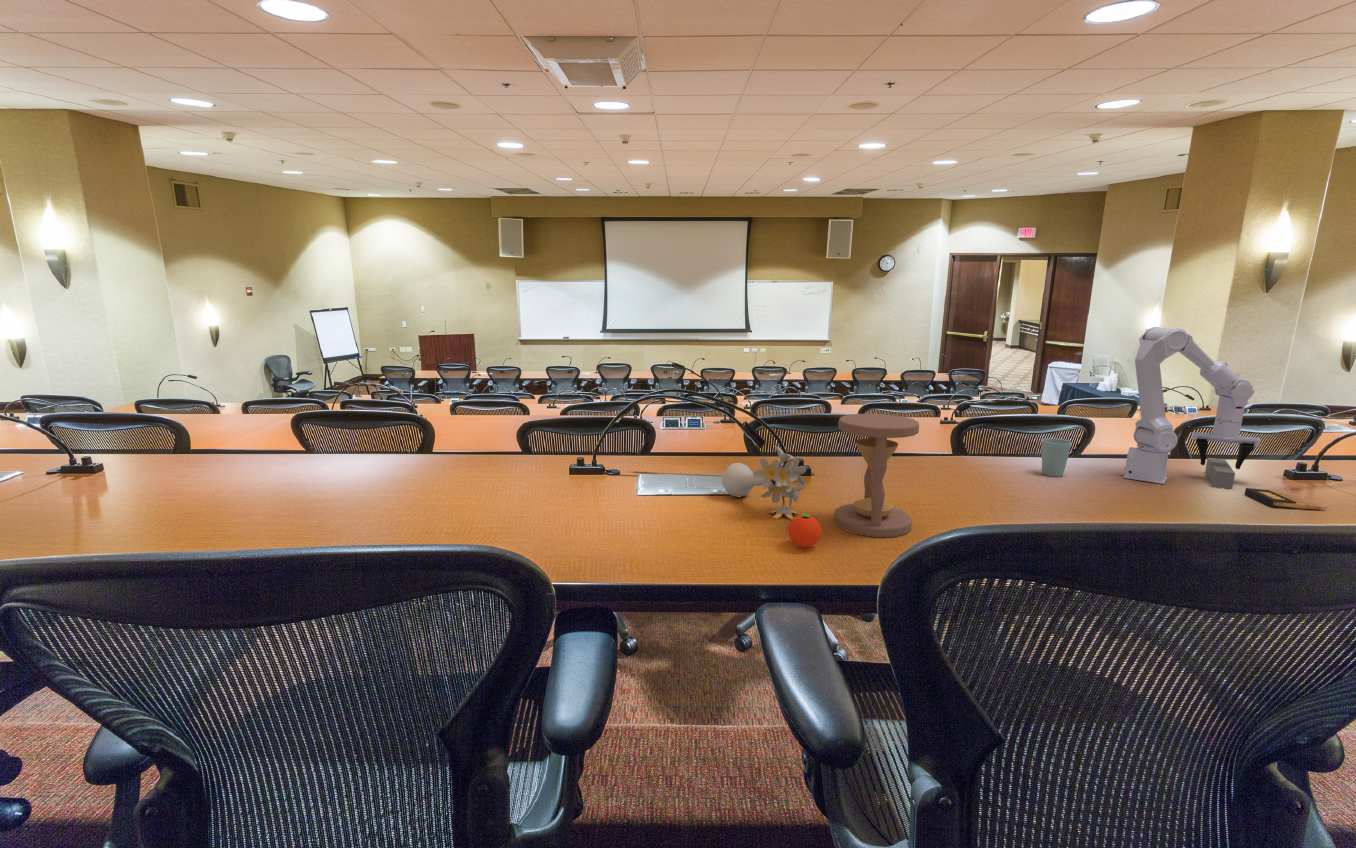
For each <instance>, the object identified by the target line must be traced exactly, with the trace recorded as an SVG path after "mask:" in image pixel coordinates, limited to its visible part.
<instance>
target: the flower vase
mask: <svg viewBox="0 0 1356 848" xmlns="http://www.w3.org/2000/svg"><path fill="white" fill-rule="evenodd" d="M773 446H774V449H775V450H776V452H777V455H778V458H779V460H780V461H779V460H778V459H775V460H773V461H772V462H771V463H769V461H768V460H767V459H766V458H765V457H760V458H759V464H760V467H761V469H757V470H755V471H754V472H753V471H752V469H751V468H750V467H749V466H748V465H746V464H744V463H743V462H742V463H741V462H734V463H732V464H730V465H728V467H727V468H726V469H725V471H724V472H723V474H722V478H721V482H722V486H723V488H724V489H725V491H726V492H727V493H728V494H729V495H730V496H732V497H734V496H743V497H746V496H747V495H749V494H750V492H751V491H752V490H753V488H754V487H757V486H762V489H765V490H766V489H767V491H765V492H764V493H762V494H761V497H762V498H769V497H771V501H772V503H774V504H776V503H778V502H779V501H780V499H781V498H782V499H781V500H782V505H781V506H779V507H778V508H776V509H773V510H774V511H775V512H776V513H775V514H783V515H784V514H786V515H793V514H792V513H793V512H794V510H793V509H790V508H791V506H792V504H793V501H794V502H795V503H797V502H798V501H799V498H800V494H799V493H800V492H801V491H803V490H804V488H805V487H806V485H807V484H806V482H805V480H804V478H803V477H802V475H803V474H805V473H806V472H807V467H806V466H804V465H800V466H799V463H800V460H799V457H798V456H793V455H791V454H788V453H785V452H784V450H783V449H781V448H780V447H779V446H778V445H777V446H776V445H773ZM783 462H786V463H785V465H784V466H783V467H782V463H783ZM791 482H793V483H794V484H796V486H795V487H792V483H791ZM797 483H799V485H797ZM798 492H799V493H798ZM785 498H789V499H788V500H789V501H788V502H789V503H788V507H787V506H786V504H785V503H786V501H785Z"/></svg>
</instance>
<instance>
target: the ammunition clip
mask: <svg viewBox="0 0 1356 848" xmlns="http://www.w3.org/2000/svg"><path fill="white" fill-rule="evenodd" d="M1244 495H1245V496H1247V497H1249V498H1251V499H1253V500H1256V501H1258V502H1260V503H1262V504H1264V505H1266V506H1268V507H1269V508H1281V509H1290V510H1295V509H1299V510H1300V509H1301V510H1327V509H1328V507H1327V506H1324V505H1323V504H1321V503H1317V502H1315V501H1312V500H1310V499H1308V498H1306V497H1303V496H1302V495H1298V494H1295V493H1294V494H1293V493H1289V492H1288V493H1287V492H1283V491H1273V490H1269V489H1261V488H1250V487H1245V490H1244Z"/></svg>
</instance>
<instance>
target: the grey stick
mask: <svg viewBox="0 0 1356 848" xmlns="http://www.w3.org/2000/svg"><path fill="white" fill-rule="evenodd" d="M1206 458H1207V460H1206V463H1205V471H1204V473H1206V474H1205V476H1206V477H1207V479H1208V480H1209V483H1210V484H1212V485H1211V486H1212V488H1215V487H1216V488H1215V489H1222V488H1224V489H1225V490H1230V489H1232V490H1233V488H1234V486H1233V485H1234V482H1235V475H1236V472H1235V471H1234V470H1233V468H1232V467H1231V466H1230V464H1229V463H1228V461H1227V460H1226V459H1225V458H1215V457H1213V458H1212V457H1206ZM1224 489H1223V490H1224Z"/></svg>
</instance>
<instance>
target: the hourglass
mask: <svg viewBox="0 0 1356 848" xmlns="http://www.w3.org/2000/svg"><path fill="white" fill-rule="evenodd" d="M837 423H838V424H837V425H838V430H839V429H840V431H841V432H842V433H843V432H844V433H847V434H849V435H854V436H860V437H864V438H859V439H857V440H855V445H856V448H857V450H858V451H859V453H860V454H861V456H862V458H863V459H864V461H865V462H866V464H867V467H866V470H865V472H864V475H863V483H864V485H863V486H864V495H863V496H864V498H862V499H857V500H855V501H853V503H847V504H844V505H840V506H839V507H837V508H835V510H834V513H833V522H834V521H835V522H836V523H835V522H834V523H835V524H837V525H839V526H840V527H841V528H840V527H839V528H840V529H842V528H843V529H842V530H844V529H845V530H848V531H851V532H854V533H857V534H856V535H858V534H862V535H861V536H863V535H867V536H866V537H869V536H872V537H871V538H882V537H885V538H896V536H897V537H900V536H903V534H904V535H906V534H908V533H909V532H910V531H911V530H912V517H911V516H910V515H909V514H908V513H907V512H905V511H903V510H901V509H899V508H896V507H893V505H892V504H891V503H889V502H887V501H885V497H886V494H885V493H886V492H885V487H884V484H883V483H884V482H883V480H884V476H885V474H886V472H887V467H888V460H890V458H891V457H892V456H893V454H894V453H895V452H896V451H897V449H898V446H899V443H898V442H897V441H895V440H890V439H896V438H897V439H898V438H899V439H900V438H908V437H909V438H910V437H914V436H915V435H917V434H919V432H920V423H919V421H917V420H915V419H914V418H909V417H906V416H900V415H894V414H884V413H855V414H847V415H844V416H840V417H839V419H838V422H837ZM866 437H867V438H866ZM837 525H836V526H837ZM845 530H844V531H845ZM848 531H847V532H848ZM851 532H850V533H851ZM854 533H853V534H854ZM899 535H900V536H899Z"/></svg>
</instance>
